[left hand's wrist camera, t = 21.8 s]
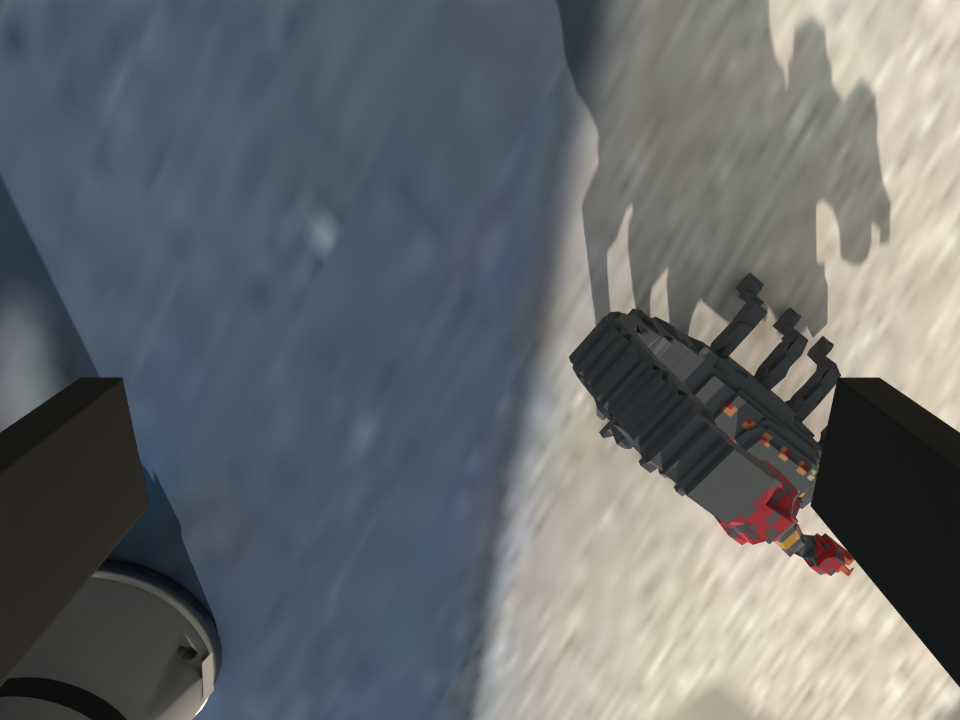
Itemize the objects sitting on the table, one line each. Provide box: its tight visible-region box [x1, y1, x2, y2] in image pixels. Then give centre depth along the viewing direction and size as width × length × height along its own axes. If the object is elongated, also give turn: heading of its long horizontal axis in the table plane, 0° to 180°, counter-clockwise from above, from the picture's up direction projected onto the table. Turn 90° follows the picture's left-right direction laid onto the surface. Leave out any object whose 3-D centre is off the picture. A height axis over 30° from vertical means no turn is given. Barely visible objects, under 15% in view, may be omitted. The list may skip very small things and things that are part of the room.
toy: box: [569, 273, 855, 576], centre depth 33 cm, size 13×27×18 cm, turn 52°
